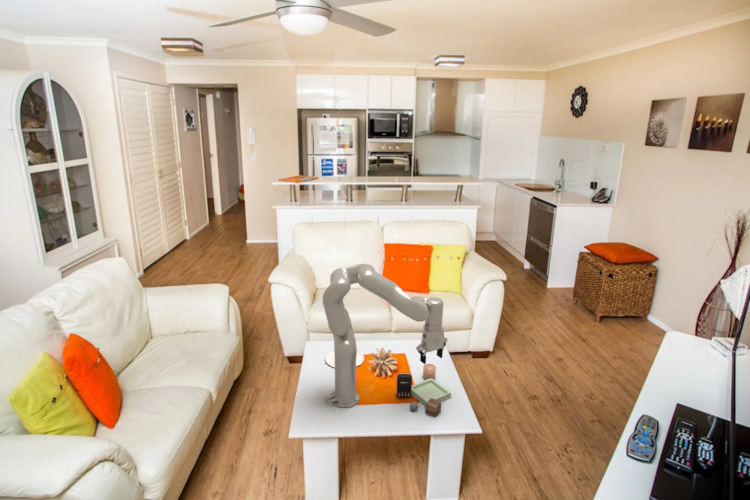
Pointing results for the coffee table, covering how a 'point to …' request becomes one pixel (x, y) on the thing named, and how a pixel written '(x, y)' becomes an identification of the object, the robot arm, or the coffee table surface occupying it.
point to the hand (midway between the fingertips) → (431, 359)
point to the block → (433, 407)
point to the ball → (413, 405)
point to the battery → (404, 385)
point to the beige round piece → (429, 371)
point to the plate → (331, 359)
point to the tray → (429, 391)
